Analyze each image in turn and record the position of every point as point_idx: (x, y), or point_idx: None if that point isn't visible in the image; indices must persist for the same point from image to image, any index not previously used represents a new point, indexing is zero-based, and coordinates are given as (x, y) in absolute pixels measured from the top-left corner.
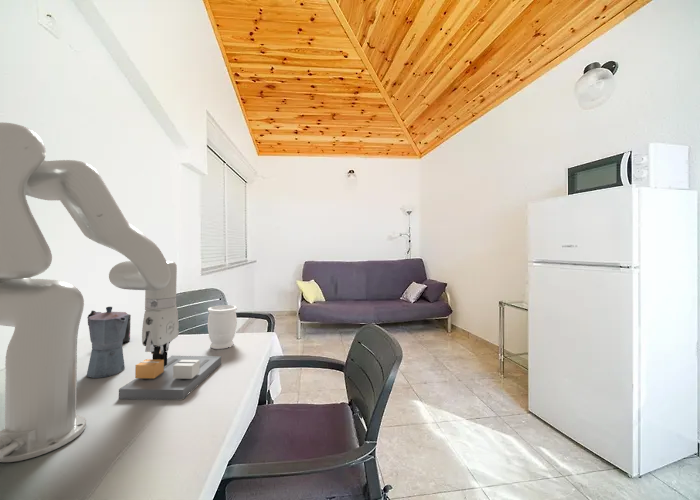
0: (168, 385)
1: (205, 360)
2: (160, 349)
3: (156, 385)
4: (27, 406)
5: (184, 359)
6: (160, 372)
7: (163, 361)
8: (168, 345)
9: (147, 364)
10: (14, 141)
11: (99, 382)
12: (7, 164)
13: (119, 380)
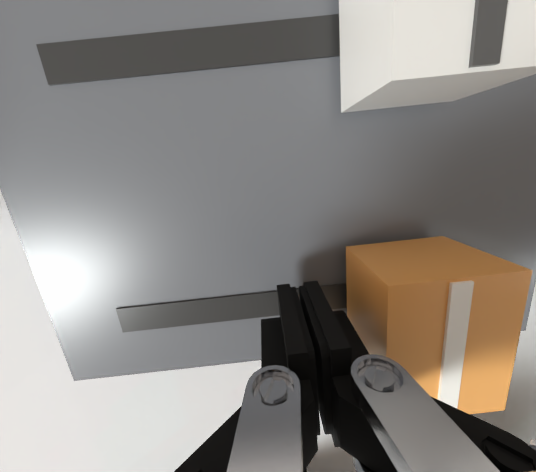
0: (523, 79)
1: (69, 71)
2: (447, 415)
3: (510, 164)
4: None
5: (103, 264)
6: (385, 245)
7: (386, 277)
8: (250, 430)
9: (500, 340)
10: None
11: (341, 465)
12: None
13: (320, 419)
